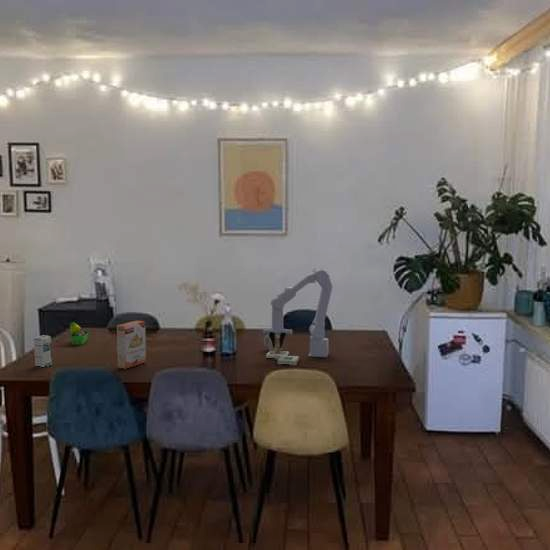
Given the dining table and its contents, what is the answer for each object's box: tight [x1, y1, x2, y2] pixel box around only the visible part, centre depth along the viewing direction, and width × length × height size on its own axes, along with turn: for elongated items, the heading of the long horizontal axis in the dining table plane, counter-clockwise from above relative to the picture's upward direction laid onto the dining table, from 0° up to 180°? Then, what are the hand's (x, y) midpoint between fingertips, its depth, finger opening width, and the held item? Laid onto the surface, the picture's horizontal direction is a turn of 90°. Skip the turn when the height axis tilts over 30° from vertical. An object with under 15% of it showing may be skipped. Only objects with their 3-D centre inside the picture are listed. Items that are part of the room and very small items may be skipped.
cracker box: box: [116, 320, 147, 370], centre depth 329 cm, size 14×6×21 cm, turn 148°
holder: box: [277, 355, 300, 366], centre depth 335 cm, size 9×9×2 cm
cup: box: [263, 333, 283, 351], centre depth 359 cm, size 7×10×9 cm
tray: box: [265, 350, 290, 360], centre depth 345 cm, size 10×9×2 cm
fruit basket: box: [69, 322, 90, 346], centre depth 376 cm, size 11×9×11 cm
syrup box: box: [33, 334, 53, 368], centre depth 330 cm, size 6×6×14 cm
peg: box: [275, 337, 281, 354], centre depth 345 cm, size 3×3×8 cm
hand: (277, 347), depth 345 cm, fingers closed on peg, 3 cm apart
